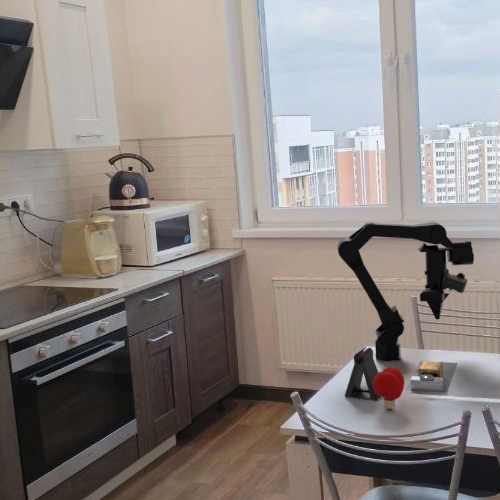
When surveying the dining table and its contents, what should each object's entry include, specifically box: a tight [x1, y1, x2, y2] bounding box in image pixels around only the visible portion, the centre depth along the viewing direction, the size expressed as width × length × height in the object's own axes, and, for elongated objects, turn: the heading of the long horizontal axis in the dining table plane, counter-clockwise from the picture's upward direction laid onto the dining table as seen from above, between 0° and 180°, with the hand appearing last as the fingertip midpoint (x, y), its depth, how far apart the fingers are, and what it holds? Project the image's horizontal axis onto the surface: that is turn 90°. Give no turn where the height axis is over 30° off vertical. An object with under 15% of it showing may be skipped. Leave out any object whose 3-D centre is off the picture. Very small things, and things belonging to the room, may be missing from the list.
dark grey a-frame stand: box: [344, 346, 382, 402], centre depth 193 cm, size 9×6×12 cm, turn 59°
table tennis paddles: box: [373, 366, 405, 411], centre depth 182 cm, size 9×7×10 cm
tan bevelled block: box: [418, 360, 444, 378], centre depth 199 cm, size 6×7×4 cm
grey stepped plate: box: [405, 360, 458, 395], centre depth 203 cm, size 10×25×4 cm, turn 159°
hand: (437, 319), depth 218 cm, fingers closed
